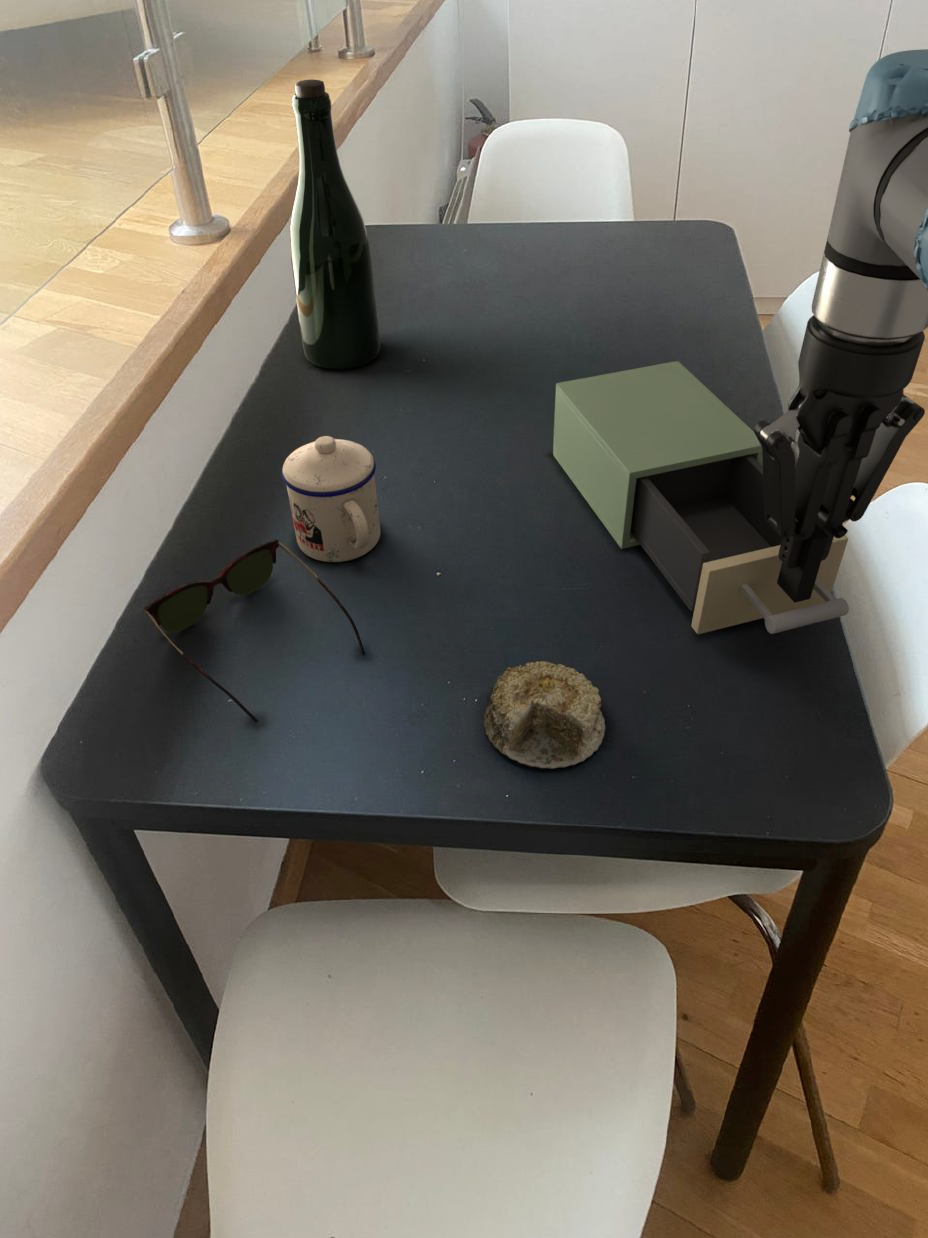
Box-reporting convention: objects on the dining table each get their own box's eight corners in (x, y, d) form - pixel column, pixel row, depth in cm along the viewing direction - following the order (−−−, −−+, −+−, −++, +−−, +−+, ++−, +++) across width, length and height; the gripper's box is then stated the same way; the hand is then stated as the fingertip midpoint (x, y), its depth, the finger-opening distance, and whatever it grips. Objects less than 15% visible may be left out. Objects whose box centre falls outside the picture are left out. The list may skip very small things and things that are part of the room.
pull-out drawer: (867, 642, 80) (890, 578, 75) (730, 679, 78) (745, 615, 73) (731, 498, 97) (744, 437, 92) (614, 524, 94) (621, 463, 89)
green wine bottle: (361, 377, 121) (329, 95, 99) (291, 365, 124) (244, 89, 101) (393, 342, 128) (370, 72, 106) (326, 332, 131) (290, 67, 109)
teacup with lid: (282, 529, 96) (262, 432, 89) (360, 502, 100) (348, 406, 92) (327, 593, 89) (310, 493, 81) (411, 562, 92) (402, 462, 84)
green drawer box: (750, 520, 95) (767, 444, 89) (621, 549, 92) (629, 472, 86) (668, 431, 109) (677, 360, 102) (552, 455, 106) (555, 382, 99)
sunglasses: (283, 573, 91) (277, 534, 88) (378, 656, 84) (376, 618, 80) (153, 644, 84) (141, 605, 80) (244, 742, 77) (235, 704, 73)
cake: (477, 691, 79) (476, 643, 76) (591, 682, 80) (595, 633, 77) (491, 777, 71) (491, 727, 68) (617, 765, 72) (623, 715, 69)
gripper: (913, 286, 66) (834, 549, 81) (751, 314, 63) (701, 580, 79) (988, 328, 60) (887, 601, 76) (814, 361, 58) (747, 637, 73)
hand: (793, 590), depth 77 cm, fingers closed
